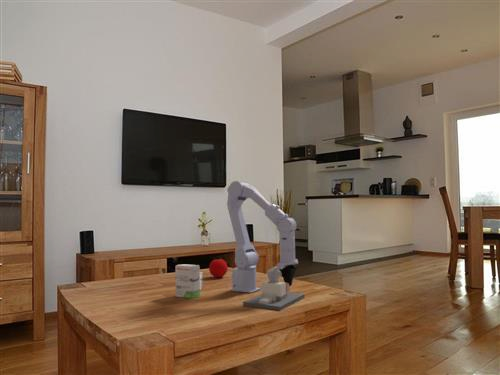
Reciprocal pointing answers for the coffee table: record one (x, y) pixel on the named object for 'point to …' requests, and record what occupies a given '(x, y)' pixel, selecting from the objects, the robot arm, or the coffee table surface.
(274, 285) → the block
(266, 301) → the rail board
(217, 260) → the ornament
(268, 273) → the grey sculpted head
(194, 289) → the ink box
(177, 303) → the coffee table surface
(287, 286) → the rail clip
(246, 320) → the coffee table surface
